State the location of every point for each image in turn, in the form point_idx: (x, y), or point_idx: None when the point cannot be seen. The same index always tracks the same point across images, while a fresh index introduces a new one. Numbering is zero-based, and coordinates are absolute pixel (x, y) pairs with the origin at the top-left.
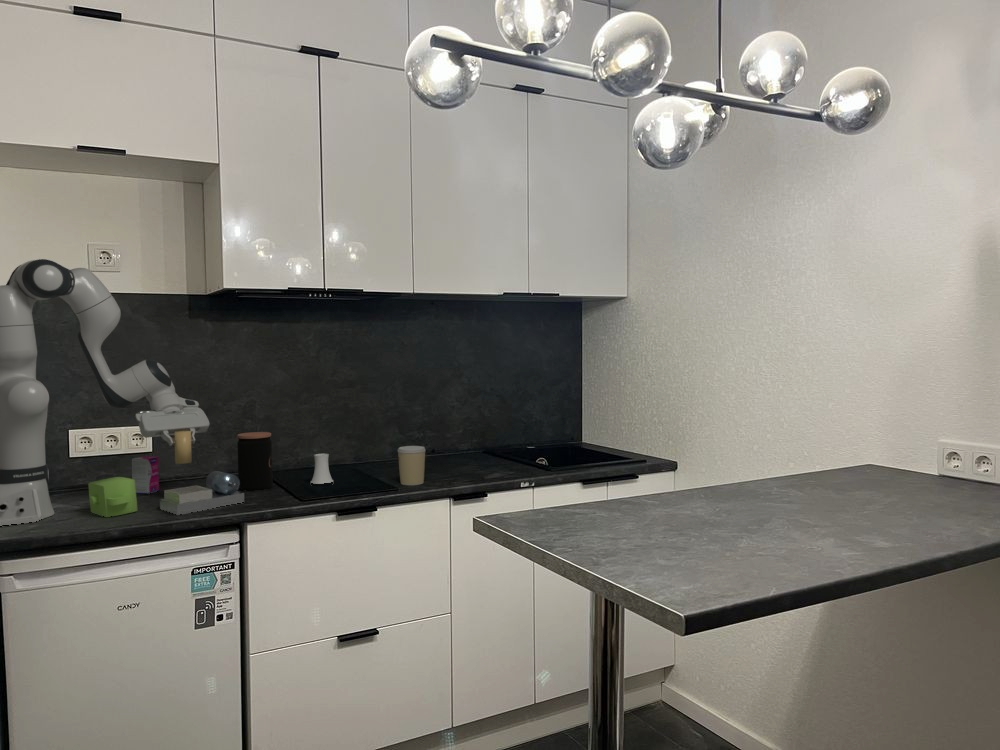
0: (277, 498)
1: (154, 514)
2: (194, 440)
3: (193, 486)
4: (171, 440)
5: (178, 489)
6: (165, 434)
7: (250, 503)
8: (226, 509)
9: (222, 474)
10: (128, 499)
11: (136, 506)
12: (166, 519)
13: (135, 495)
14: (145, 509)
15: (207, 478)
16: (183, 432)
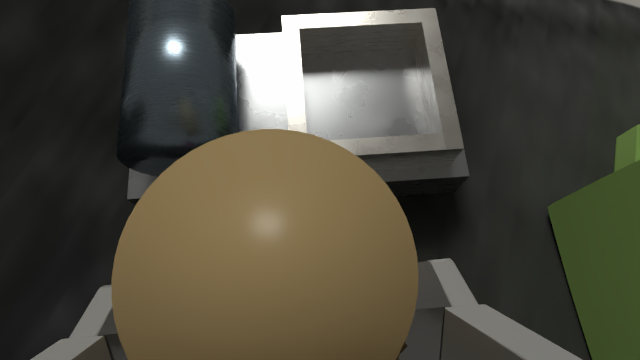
0: (19, 49)
1: (492, 126)
2: None
3: None
4: (448, 272)
5: (394, 137)
6: (565, 352)
7: None
8: (258, 18)
9: (187, 20)
10: (628, 131)
11: (561, 199)
12: (474, 24)
13: (594, 183)
14: (504, 247)
15: (228, 134)
16: (307, 135)
